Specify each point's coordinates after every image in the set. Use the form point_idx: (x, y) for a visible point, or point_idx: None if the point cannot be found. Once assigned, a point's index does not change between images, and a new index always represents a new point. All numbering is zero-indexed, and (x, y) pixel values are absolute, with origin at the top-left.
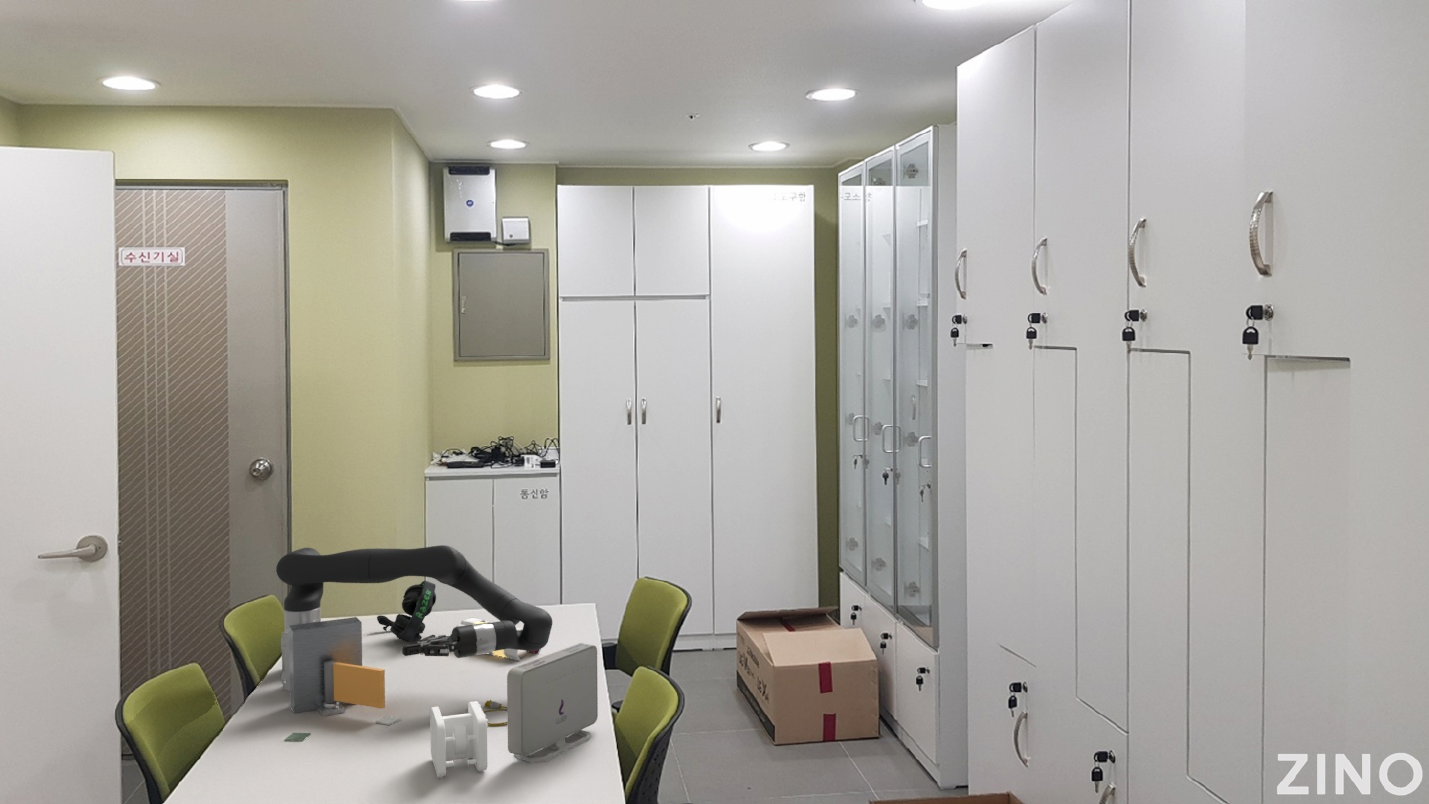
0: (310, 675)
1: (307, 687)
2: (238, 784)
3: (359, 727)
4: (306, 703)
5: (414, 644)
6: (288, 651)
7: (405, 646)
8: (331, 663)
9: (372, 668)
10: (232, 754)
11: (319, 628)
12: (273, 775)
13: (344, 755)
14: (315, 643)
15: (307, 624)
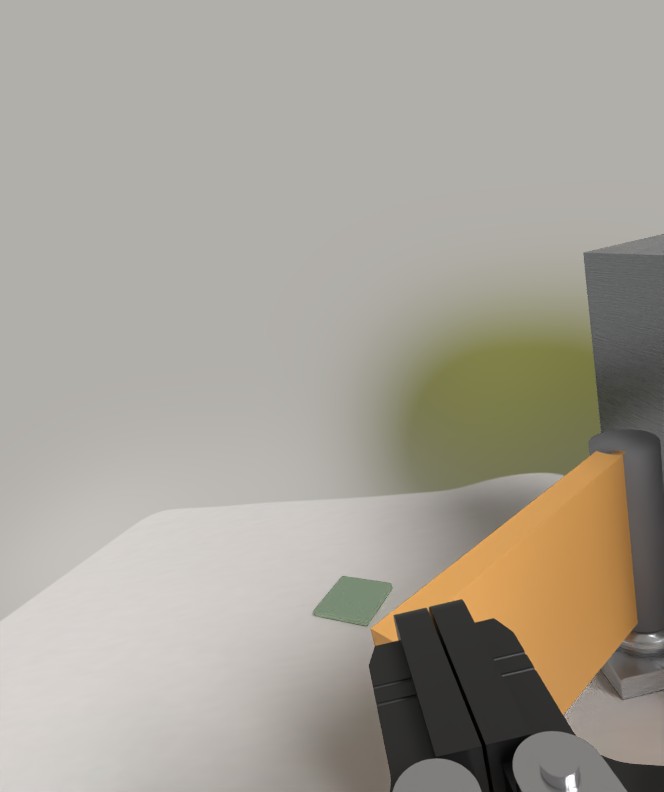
0: None
1: None
2: (116, 560)
3: (377, 777)
4: None
5: (484, 696)
6: None
7: (416, 615)
8: (597, 446)
9: (451, 584)
10: (305, 519)
11: (649, 258)
12: (107, 600)
13: (91, 741)
14: (643, 329)
15: None
